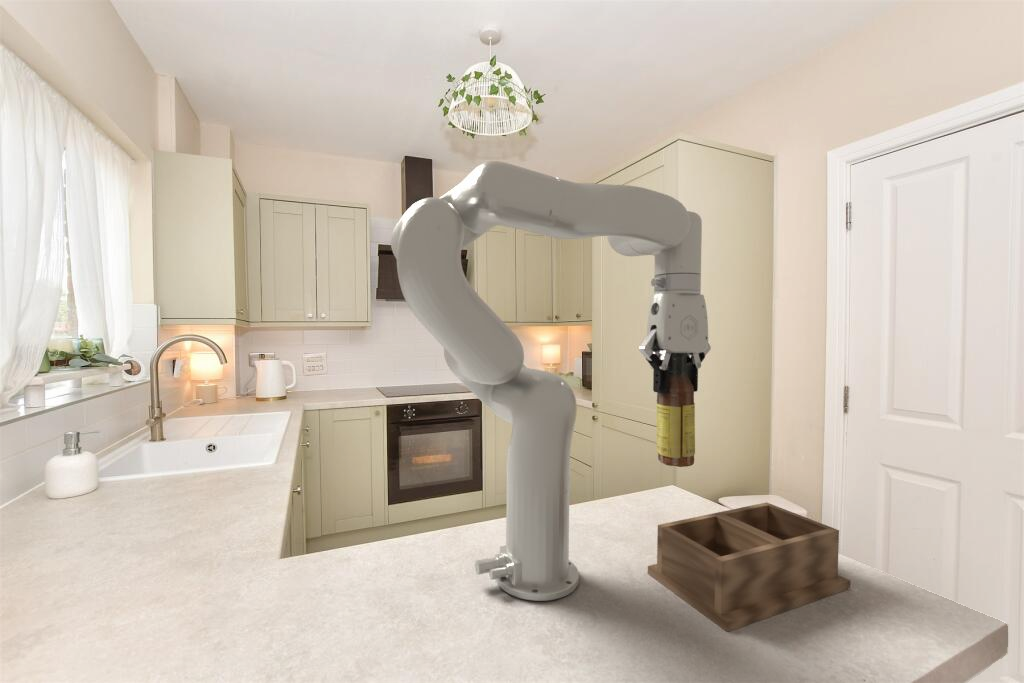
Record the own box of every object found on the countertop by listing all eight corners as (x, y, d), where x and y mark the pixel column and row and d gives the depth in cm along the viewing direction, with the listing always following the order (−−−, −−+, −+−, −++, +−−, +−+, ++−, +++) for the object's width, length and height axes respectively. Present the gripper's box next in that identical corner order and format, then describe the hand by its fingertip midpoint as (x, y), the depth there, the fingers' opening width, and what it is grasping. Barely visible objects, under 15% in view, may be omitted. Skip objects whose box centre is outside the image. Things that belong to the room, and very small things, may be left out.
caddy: (727, 631, 58) (728, 567, 58) (647, 573, 72) (648, 521, 72) (850, 588, 69) (851, 533, 68) (759, 544, 82) (760, 499, 82)
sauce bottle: (688, 458, 83) (692, 348, 83) (699, 469, 77) (703, 349, 76) (651, 457, 84) (654, 347, 83) (659, 467, 77) (663, 348, 77)
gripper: (653, 282, 72) (651, 397, 73) (731, 286, 79) (729, 391, 80) (622, 286, 79) (621, 391, 80) (696, 290, 86) (695, 386, 87)
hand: (675, 390), depth 80 cm, fingers closed on sauce bottle, 5 cm apart
